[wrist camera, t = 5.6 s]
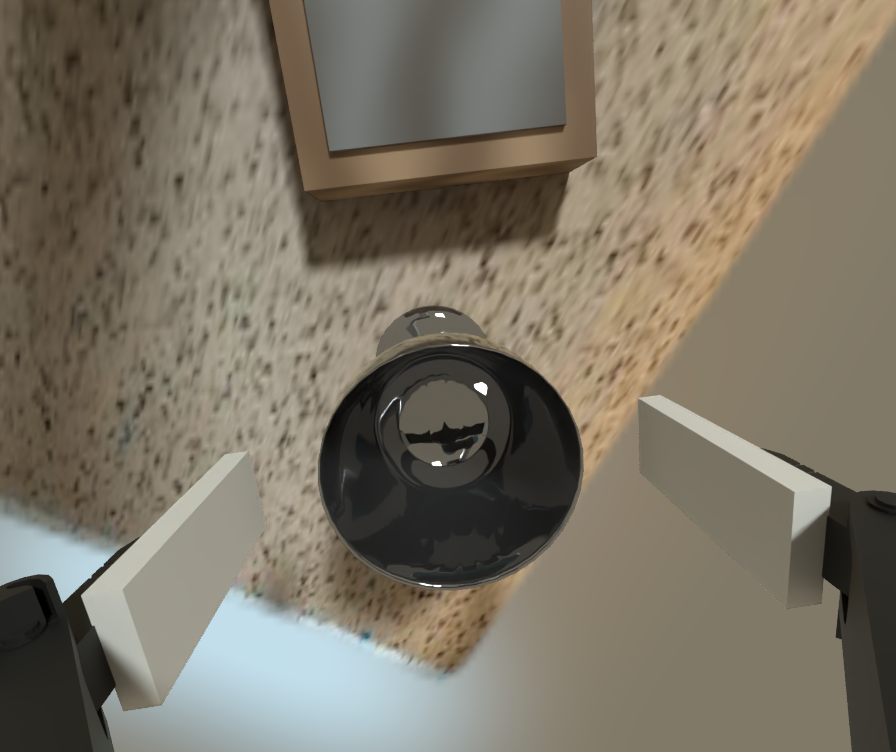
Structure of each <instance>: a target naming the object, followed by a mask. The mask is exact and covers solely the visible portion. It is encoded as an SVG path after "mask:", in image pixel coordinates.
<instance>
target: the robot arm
mask: <svg viewBox="0 0 896 752" xmlns="http://www.w3.org/2000/svg"><path fill="white" fill-rule="evenodd" d="M638 414H639V459H640V460H639V461H640V473H641V474H642V475H643V476H644V477H645V478H646V479H647V480H648V481H650V482H651V483H652V484H653V485H654V486H655V487H656V488H657V489H658V490H659V491H660V492H662V494H664V495H665V496H666V497H667V498H668V499H669V500H670V501H671V502H672V503H673V504H674V505H675V506H676V507H677V508H678V509H680V510H681V511H682V512H683V513H684V514H685V515H686V516H687V517H688V518H689V519H690V520H691V521H693V522H694V523H695V524H696V525H697V526H698V527H699V528H700V529H701V530H702V531H703V532H704V533H705V534H706V535H708V536H709V537H710V538H711V539H712V540H713V541H714V542H715V543H716V544H717V545H718V546H719V547H720V548H721V549H723V550H724V551H725V552H726V553H727V554H728V555H729V556H730V557H731V558H732V559H733V560H734V561H735V562H737V563H738V564H739V565H740V566H741V567H742V568H743V569H744V570H745V571H746V572H747V573H748V574H749V575H751V576H752V577H753V578H754V579H755V580H756V581H757V582H758V583H759V584H760V585H761V586H762V587H763V588H765V589H766V590H767V591H768V592H769V593H770V594H771V595H772V596H773V597H774V598H775V599H776V600H778V602H780V603H781V604H782V605H783V606H784V607H785V608H786V609H790V608H797V607H803V606H810V605H817V604H821V601H822V591H823V579H824V578H825V579H826V580H827V581H828V582H830V583H831V584H832V585H833V586H835V587H836V588H837V589H839V590H840V600H839V610H838V619H837V629H836V638H839V639H842V648H843V658H844V670H845V681H846V692H847V703H848V713H849V725H850V736H851V746H852V752H896V493H892V492H884V491H860V492H855V491H853V490H851V489H849V488H847V487H845V486H843V485H841V484H839V483H837V482H835V481H834V480H832V479H830V478H828V477H826V476H824V475H822V474H820V473H818V472H816V473H815V472H814V470H812V469H810V468H808V467H806V466H805V465H800V463H798V462H797V461H795V460H793V459H791V458H789V457H787V456H785V455H783V454H780V453H777V452H773V451H770V450H767V449H763V448H758V447H756V446H755V445H753V444H751V443H749V442H747V441H745V440H743V439H742V438H740V437H738V436H736V435H734V434H732V433H730V432H728V431H727V430H725V429H722V428H721V427H719V426H717V425H715V424H713V423H712V422H710V421H708V420H706V419H704V418H702V417H700V416H698V415H697V414H695V413H693V412H691V411H689V410H687V409H685V408H683V407H681V406H680V405H678V404H676V403H674V402H672V401H670V400H668V399H667V398H665V397H663V396H661V395H658V396H650V397H643V398H638ZM266 526H267V525H266V521H265V517H264V513H263V509H262V505H261V500H260V496H259V492H258V488H257V484H256V480H255V476H254V471H253V467H252V463H251V459H250V455H249V451H247V452H239V453H232V454H225V455H224V456H223V457H222V458H221V459H220V460H219V461H218V462H217V463H216V464H215V465H214V466H213V467H212V468H211V469H210V470H209V471H208V472H207V473H206V474H205V475H204V476H203V477H202V478H201V479H200V480H198V481H197V482H196V483H195V484H194V485H193V486H192V487H191V488H190V489H189V490H188V491H187V492H186V493H185V494H184V495H183V496H182V497H181V498H180V499H179V500H178V501H177V502H176V503H175V504H174V505H173V506H172V507H171V508H170V509H169V510H168V511H167V512H166V513H165V514H164V515H163V516H162V517H161V518H160V519H159V520H158V521H157V522H156V523H155V524H154V525H152V526H151V527H150V528H149V529H148V530H147V531H146V532H145V533H144V534H143V535H142V536H141V537H139V538H137V539H135V540H134V541H132V542H131V543H129V544H128V545H126V546H124V547H123V548H121V549H120V550H118V551H117V552H116V553H115V554H114V555H113V556H112V557H111V558H110V559H109V560H108V561H107V562H106V563H104V567H101V568H99V569H98V570H97V571H96V572H95V573H94V574H93V575H92V578H90V579H88V580H87V581H86V582H85V583H83V584H82V585H81V586H80V587H79V588H78V589H77V590H76V591H75V592H74V593H73V594H72V595H71V596H70V597H69V598H68V599H67V600H65V601H64V602H63V603H62V602H61V599H60V597H59V594H58V591H57V589H56V586H55V583H54V581H53V579H52V578H51V577H50V576H49V575H33V576H28V577H24V578H21V579H18V580H15V581H12V582H9V583H6V584H4V585H2V586H0V752H114V749H113V744H112V740H111V737H110V732H109V728H108V724H107V720H106V717H105V715H104V712H103V710H102V707H101V706H102V705H103V703H104V702H105V700H106V699H107V698H108V696H109V695H110V693H111V692H112V691H113V689H114V688H115V690H116V692H117V695H118V697H119V701H120V703H121V706H122V709H123V711H128V710H134V709H141V708H147V707H153V706H160V705H162V704H163V702H164V700H165V698H166V697H167V695H168V694H169V692H170V690H171V689H172V686H173V685H174V683H175V682H176V680H177V678H178V676H179V675H180V673H181V671H182V670H183V668H184V666H185V664H186V663H187V661H188V659H189V658H190V656H191V654H192V652H193V651H194V649H195V647H196V646H197V644H198V642H199V640H200V639H201V637H202V635H203V634H204V632H205V630H206V628H207V627H208V625H209V623H210V622H211V620H212V618H213V616H214V615H215V613H216V611H217V610H218V608H219V606H220V604H221V603H222V601H223V599H224V598H225V596H226V594H227V592H228V591H229V589H230V587H231V586H232V584H233V582H234V580H235V579H236V577H237V575H238V574H239V572H240V570H241V568H242V567H243V565H244V563H245V562H246V560H247V558H248V556H249V555H250V553H251V551H252V550H253V548H254V546H255V544H256V543H257V541H258V539H259V538H260V536H261V534H262V532H263V531H264V529H265V527H266Z"/></svg>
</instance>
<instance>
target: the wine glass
mask: <svg viewBox="0 0 896 752" xmlns="http://www.w3.org/2000/svg"><path fill="white" fill-rule="evenodd" d="M583 472H584V468H583V448H582V444H581V439H580V434H579V430H578V427H577V425H576V423H575V420H574V418H573V416H572V414H571V411H570V409H569V408H568V406H567V405H566V403H565V402H564V400H563V399H562V398H561V396H560V395H559V393H558V392H557V390H556V389H555V388H554V387H553V386H552V385H551V384H550V383H549V382H548V381H547V380H546V379H545V378H544V377H543V376H542V375H541V374H540V373H539V372H538V371H537V370H536V369H535V368H534V367H533V366H532V365H531V364H529V363H528V362H527V361H525V360H524V359H522V358H521V357H519V356H518V355H516V354H515V353H513V352H512V351H510V350H509V349H507V348H506V347H504V346H502V345H500V344H498V343H496V342H493V341H491V340H489V339H486V337H485V335H484V333H483V332H482V330H481V329H480V327H479V326H478V325H477V324H476V323H475V322H474V321H473V320H472V319H471V318H469V317H468V316H466V315H465V314H463V313H462V312H459V311H457V310H455V309H452V308H448V307H444V306H425V307H420V308H416V309H413V310H411V311H409V312H407V313H405V314H403V315H401V316H400V317H399V318H397V319H396V320H395V321H394V322H393V323H392V324H391V325H390V326H389V327H388V328H387V330H386V331H385V333H384V334H383V336H382V338H381V340H380V342H379V345H378V348H377V353H376V358H374V359H373V360H372V361H370V362H369V363H368V364H367V365H366V367H365V368H364V369H363V370H362V371H361V372H360V373H359V374H358V375H357V376H356V377H355V379H354V380H353V381H352V383H351V384H350V385H349V387H348V388H347V390H346V392H345V393H344V395H343V396H342V398H341V399H340V401H339V402H338V404H337V406H336V408H335V410H334V412H333V414H332V416H331V419H330V421H329V423H328V426H327V428H326V431H325V433H324V436H323V439H322V444H321V449H320V454H319V459H318V486H319V491H320V496H321V501H322V505H323V508H324V510H325V513H326V515H327V518H328V520H329V523H330V525H331V526H332V528H333V529H334V531H335V533H336V534H337V536H338V537H339V539H340V540H341V542H342V543H343V544H344V545H345V546H346V547H347V548H348V549H349V550H350V551H351V553H352V554H353V555H354V556H355V557H356V558H358V559H359V560H360V561H362V562H363V563H364V564H366V565H367V566H368V567H369V568H371V569H372V570H374V571H376V572H378V573H380V574H381V575H383V576H385V577H387V578H389V579H391V580H394V581H397V582H400V583H403V584H406V585H409V586H412V587H418V588H424V589H430V590H461V589H468V588H476V587H479V586H483V585H486V584H490V583H493V582H497V581H499V580H501V579H503V578H505V577H508V576H510V575H512V574H514V573H516V572H518V571H519V570H521V569H522V568H524V567H525V566H527V565H528V564H530V563H532V562H533V561H534V560H536V559H537V558H538V557H539V556H540V555H541V554H542V553H543V552H544V551H546V550H547V549H548V548H549V547H550V546H551V545H552V543H553V542H554V541H555V540H556V538H557V537H558V536H559V534H560V533H561V532H562V531H563V529H564V527H565V526H566V524H567V522H568V520H569V519H570V517H571V515H572V513H573V511H574V508H575V506H576V503H577V500H578V497H579V494H580V491H581V484H582V478H583Z"/></svg>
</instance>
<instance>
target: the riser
mask: <svg viewBox="0 0 896 752" xmlns="http://www.w3.org/2000/svg"><path fill="white" fill-rule="evenodd" d="M269 3H270V9H271V14H272V19H273V25H274V30H275V36H276V41H277V46H278V52H279V57H280V62H281V68H282V73H283V78H284V84H285V89H286V95H287V100H288V105H289V111H290V116H291V121H292V127H293V132H294V137H295V143H296V148H297V153H298V159H299V164H300V170H301V175H302V180H303V186H304V191H305V192H307V193H309V194H310V195H312V196H314V197H315V198H317V199H319V200H320V201H329V200H337V199H346V198H354V197H362V196H371V195H379V194H388V193H396V192H405V191H413V190H422V189H430V188H439V187H447V186H455V185H464V184H472V183H481V182H489V181H498V180H506V179H515V178H523V177H531V176H540V175H548V174H557V173H565V172H571V171H572V170H574V169H576V168H578V167H580V166H581V165H583V164H585V163H587V162H588V161H590V160H592V159H594V158H595V157H597V143H596V113H595V83H594V53H593V23H592V0H269Z"/></svg>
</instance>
